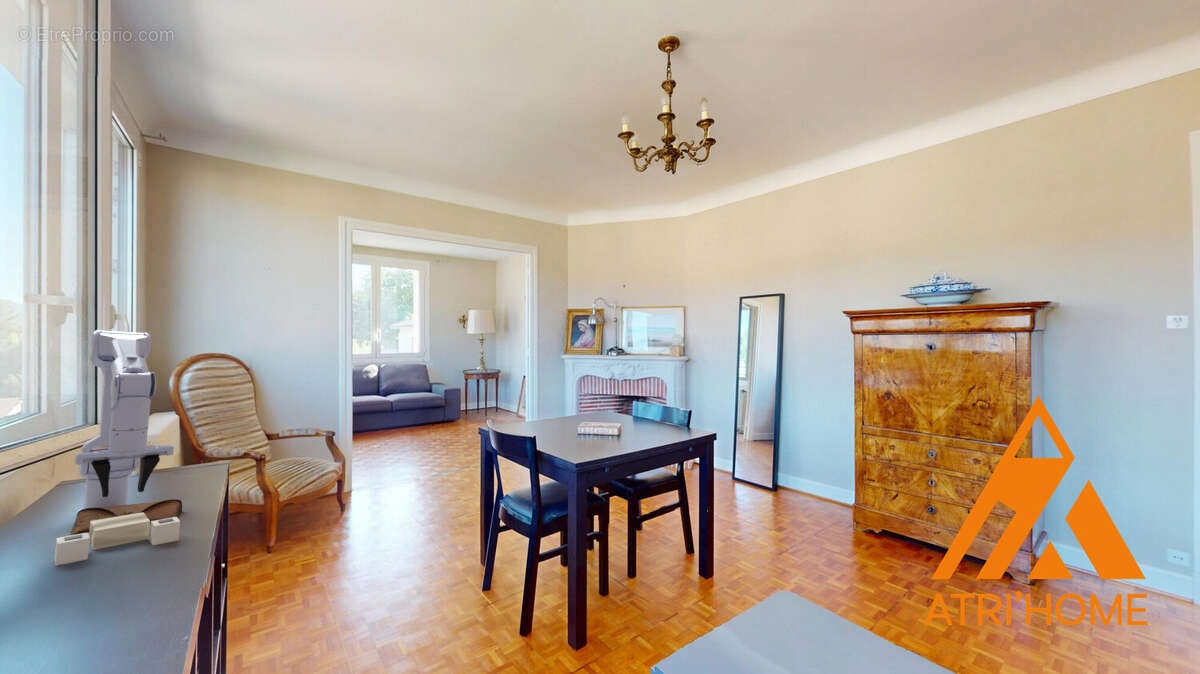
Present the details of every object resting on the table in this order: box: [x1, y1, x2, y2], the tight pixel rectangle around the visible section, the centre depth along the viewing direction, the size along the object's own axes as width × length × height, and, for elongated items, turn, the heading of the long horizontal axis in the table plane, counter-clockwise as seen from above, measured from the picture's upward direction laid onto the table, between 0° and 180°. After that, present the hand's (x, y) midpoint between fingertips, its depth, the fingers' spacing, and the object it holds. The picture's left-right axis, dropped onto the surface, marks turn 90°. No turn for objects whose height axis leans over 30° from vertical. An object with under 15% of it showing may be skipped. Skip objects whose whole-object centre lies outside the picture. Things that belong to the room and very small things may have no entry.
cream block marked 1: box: [53, 532, 90, 567], centre depth 88 cm, size 4×4×4 cm
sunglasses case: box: [68, 498, 183, 536], centre depth 107 cm, size 18×7×7 cm
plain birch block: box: [88, 512, 151, 551], centre depth 97 cm, size 8×8×4 cm
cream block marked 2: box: [148, 517, 181, 546], centre depth 98 cm, size 4×4×4 cm
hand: (123, 493), depth 98 cm, fingers open, 5 cm apart
